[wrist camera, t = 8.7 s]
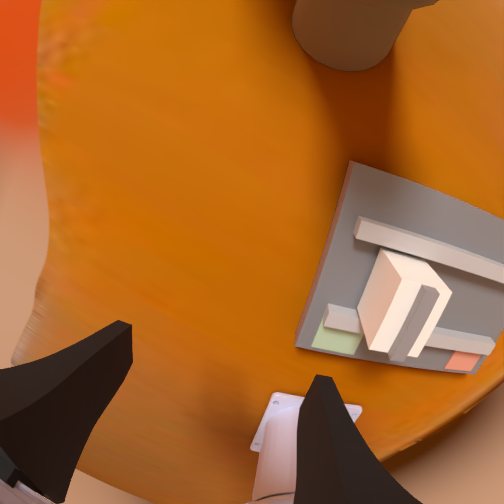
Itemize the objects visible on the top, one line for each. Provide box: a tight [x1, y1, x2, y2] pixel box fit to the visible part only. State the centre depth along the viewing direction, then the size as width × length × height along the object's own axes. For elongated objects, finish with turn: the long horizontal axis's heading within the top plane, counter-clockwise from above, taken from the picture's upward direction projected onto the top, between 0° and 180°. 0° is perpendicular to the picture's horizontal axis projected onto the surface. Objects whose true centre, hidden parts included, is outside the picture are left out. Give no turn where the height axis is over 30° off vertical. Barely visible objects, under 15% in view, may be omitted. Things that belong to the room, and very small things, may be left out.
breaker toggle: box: [357, 247, 452, 362], centre depth 15 cm, size 4×3×5 cm
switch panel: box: [295, 160, 504, 374], centre depth 17 cm, size 12×16×2 cm
